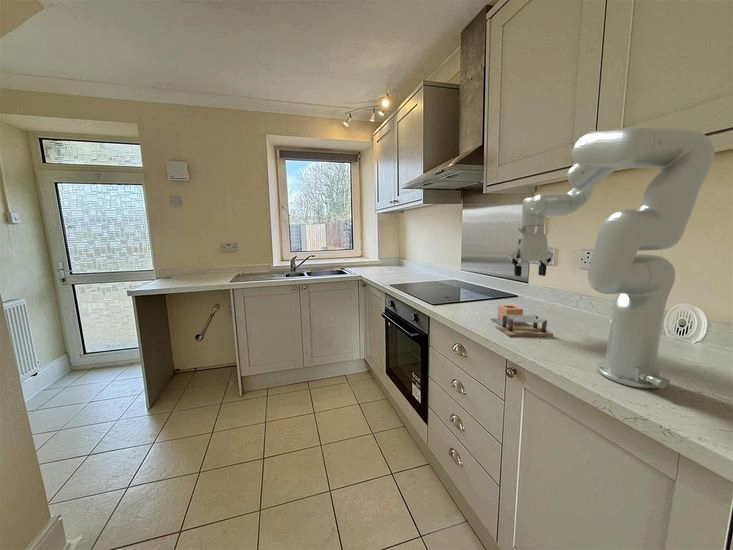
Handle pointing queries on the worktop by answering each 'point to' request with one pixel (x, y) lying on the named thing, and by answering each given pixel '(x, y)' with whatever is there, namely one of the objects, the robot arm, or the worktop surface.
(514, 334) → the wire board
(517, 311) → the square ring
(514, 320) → the grey small table
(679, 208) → the robot arm
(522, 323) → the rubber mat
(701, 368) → the worktop surface
